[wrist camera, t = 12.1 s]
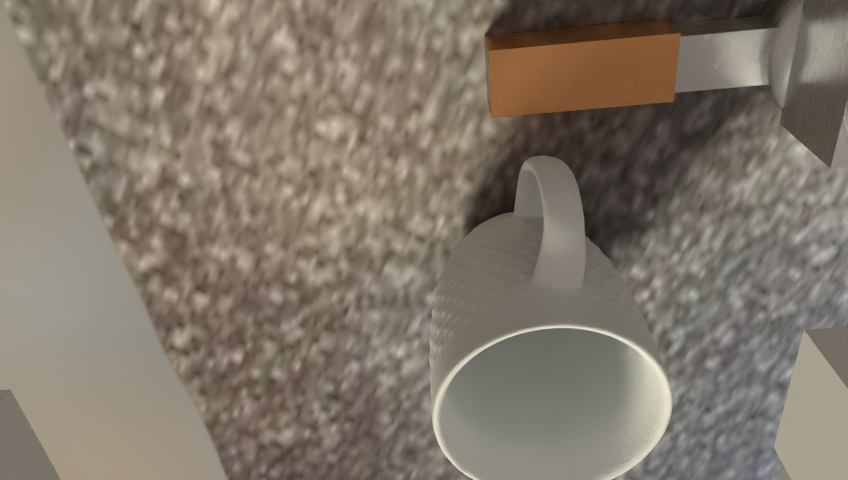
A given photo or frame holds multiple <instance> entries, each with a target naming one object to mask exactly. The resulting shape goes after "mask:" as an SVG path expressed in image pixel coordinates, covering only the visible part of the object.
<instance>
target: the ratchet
mask: <svg viewBox="0 0 848 480" xmlns="http://www.w3.org/2000/svg"><path fill="white" fill-rule="evenodd" d="M803 3H804V0H769V1H768V3H767V4H766V6H765V7H764V9H763V10H762V12H761V14H760V16H750V17H739V18H729V19H718V20H707V21H696V22H686V23H675V24H670V23H669V22H668V21H666V20H665V19H654V20H643V21H632V22H622V23H611V24H600V25H590V26H579V27H568V28H558V29H547V30H536V31H525V32H515V33H504V34H493V35H485V57H486V79H487V100H488V104H489V108H490V112H491V116H492V118H496V117H508V116H519V115H530V114H542V113H553V112H564V111H575V110H587V109H598V108H609V107H621V106H632V105H643V104H654V103H666V102H674V93H679V92H690V91H701V90H713V89H724V88H735V87H746V86H758V88H759V89H760V91H761V92H762V93H763V94H764V95H765V96H766V97H767V98H768V99H770V100H771V101H772V102H773V103H774V104H775V105H777V106H778V107H779V108H780V109H781V110H783V105H784V100H785V95H786V89H787V84H788V79H789V74H790V69H791V64H792V59H793V54H794V49H795V44H796V39H797V34H798V28H799V23H800V18H801V13H802V8H803Z"/></svg>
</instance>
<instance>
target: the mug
mask: <svg viewBox="0 0 848 480" xmlns="http://www.w3.org/2000/svg"><path fill="white" fill-rule="evenodd" d="M430 328H431V336H430V340H429V343H430V356H429V361H430V375H429V377H430V383H431V391H430V393H431V405H432V421H433V427H434V432H435V435H436V438H437V440H438V443H439V445H440V447H441V449H442V450H443V452H444V453H445V455H446V456H447V458H448V459H449V460H450V461H451V462H452V463H453V465H455V466H456V467H457V468H458V469H459V470H460V471H462V472H463V473H464V474H466V475H467V476H469V477H470V478H472V479H474V480H611V479H613V478H615V477H617V476H619V475H621V474H622V473H624V472H626V471H628V470H629V469H631V468H632V467H634V466H635V465H636V464H637V463H639V462H640V461H641V460H642V459H643V458H644V457H645V456H646V455H647V454H648V453H650V451H651V450H652V449H653V448H654V447H655V446H656V444H657V443H658V441H659V440H660V438H661V437H662V435H663V434H664V432H665V430H666V428H667V426H668V423H669V421H670V417H671V413H672V406H673V393H672V388H671V384H670V380H669V377H668V374H667V372H666V369H665V367H664V365H663V362H662V360H661V357H660V355H659V353H658V350H657V348H656V344H655V340H654V338H653V337H652V335H651V334H650V332H649V330H648V327H647V323H646V320H645V319H644V317H643V316H642V314H641V313H640V311H639V308H638V304H637V302H636V301H635V300H634V298H633V297H632V295H631V293H630V291H629V288H628V285H627V284H625V283H624V281H623V280H622V278H621V275H620V273H619V271H618V270H616V269H615V268H614V266H613V265H612V263H611V261H610V259H609V258H607V257H606V256H605V255H604V254H603V253H602V252H601V250H600V248H599V247H598V246H596V245H595V244H593V243H592V242H591V241H590V239H589V238H588V237H586V236H585V226H584V214H583V208H582V202H581V197H580V192H579V188H578V185H577V182H576V180H575V177H574V175H573V173H572V171H571V170H570V168H569V167H568V166H567V164H566V163H564V162H563V161H562V160H560V159H557V158H555V157H550V156H534V157H531V158H529V159H527V160H526V161H524V163H523V165H522V167H521V170H520V173H519V178H518V184H517V190H516V199H515V206H514V212H509V213H504V214H501V215H498V216H495V217H493V218H491V219H489V220H487V221H485V222H483V223H481V224H480V225H478V226H477V227H476V228H474V229H473V230H472V231H471V232H470V233H469V234H468V235H467V236H465V237H464V238H463V239H462V241H461V243H460V244H459V245H458V246H457V247H456V248H455V249H454V252H453V254H452V255H451V256H450V258H449V259H448V263H447V265H446V267H445V268H444V270H443V275H442V277H441V279H440V281H439V286H438V290H437V292H436V294H435V303H434V306H433V309H432V321H431V324H430Z"/></svg>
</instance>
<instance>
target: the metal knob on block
mask: <svg viewBox="0 0 848 480" xmlns="http://www.w3.org/2000/svg"><path fill="white" fill-rule="evenodd" d="M780 124H781V125H782V126H783V127H784V128H785V129H786V130H787V131H789V132H790V133H791V134H792V135H793V136H794V137H795V138H796V139H798V140H799V141H800V142H801V143H802V144H803V145H804V146H806V147H807V148H808V149H809V150H810V151H811V152H812V153H814V154H815V155H816V156H817V157H818V158H819V159H820V160H821V161H823V162H824V163H825V164H826V165H827V166H828V167H829V168H841V167H848V0H804V3H803V8H802V13H801V18H800V23H799V28H798V34H797V39H796V44H795V49H794V54H793V59H792V64H791V69H790V74H789V79H788V84H787V89H786V95H785V100H784V105H783V110H782V115H781V120H780Z"/></svg>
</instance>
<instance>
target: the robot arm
mask: <svg viewBox="0 0 848 480" xmlns="http://www.w3.org/2000/svg"><path fill="white" fill-rule="evenodd" d="M774 449H775V450H776V452H777V454H778V456H779V458H780V459H781V461H782V463H783V465H784V467H785V468H786V470H787V472H788V474H789V475H790V477H791V479H792V480H848V327H837V328H824V329H811V330H804V333H803V337H802V341H801V344H800V348H799V352H798V356H797V360H796V364H795V368H794V371H793V375H792V379H791V383H790V387H789V391H788V395H787V398H786V402H785V406H784V410H783V414H782V418H781V421H780V425H779V429H778V433H777V437H776V441H775V445H774ZM0 480H61V479H60V477H59V476H58V474H57V472H56V470H55V468H54V467H53V465H52V463H51V461H50V460H49V458H48V456H47V454H46V452H45V451H44V449H43V447H42V445H41V443H40V442H39V440H38V438H37V436H36V434H35V433H34V431H33V429H32V427H31V426H30V424H29V422H28V420H27V418H26V417H25V415H24V413H23V411H22V410H21V408H20V406H19V404H18V402H17V401H16V399H15V397H14V395H13V394H12V392H11V390H10V389H9V390H0Z"/></svg>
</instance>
